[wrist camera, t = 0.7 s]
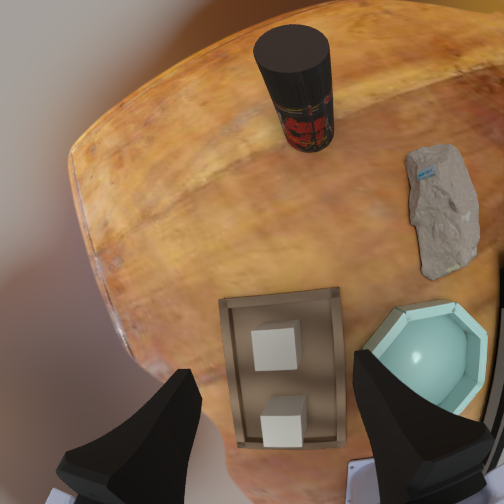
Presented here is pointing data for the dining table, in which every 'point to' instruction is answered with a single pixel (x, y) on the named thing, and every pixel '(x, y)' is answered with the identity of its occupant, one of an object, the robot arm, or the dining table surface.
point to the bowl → (434, 351)
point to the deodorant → (299, 83)
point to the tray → (287, 381)
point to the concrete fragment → (442, 209)
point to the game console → (496, 396)
